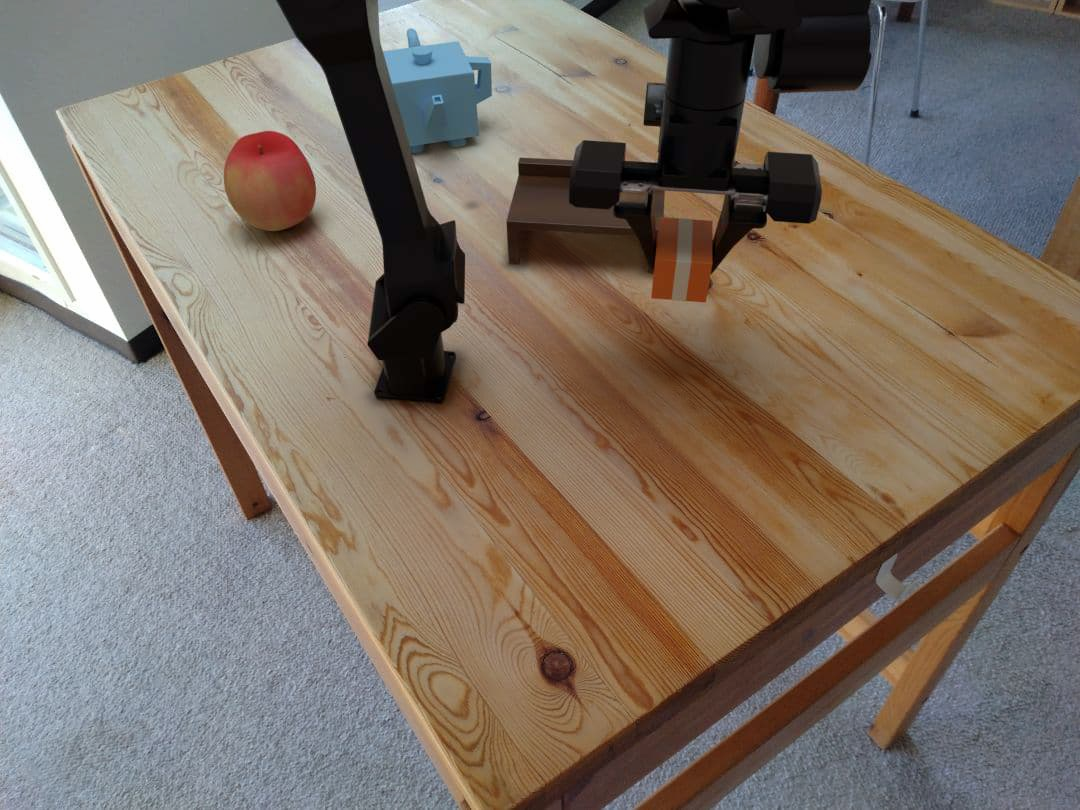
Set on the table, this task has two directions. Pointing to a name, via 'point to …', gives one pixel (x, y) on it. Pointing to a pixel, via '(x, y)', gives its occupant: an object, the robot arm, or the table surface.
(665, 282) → the package
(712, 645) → the table surface
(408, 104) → the teapot
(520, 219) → the shelf
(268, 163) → the apple
